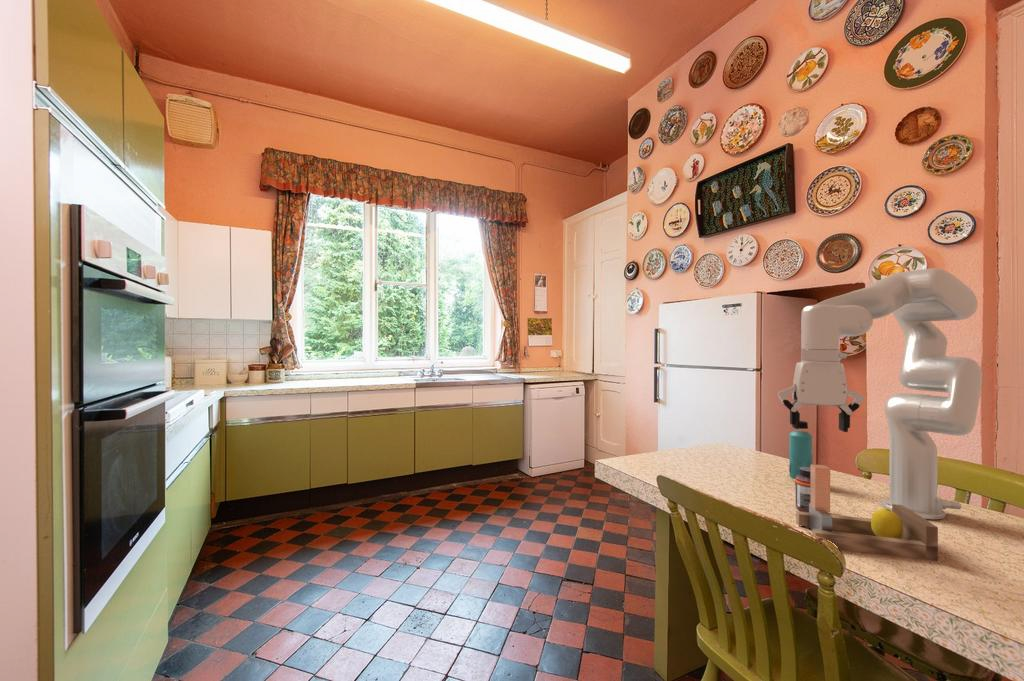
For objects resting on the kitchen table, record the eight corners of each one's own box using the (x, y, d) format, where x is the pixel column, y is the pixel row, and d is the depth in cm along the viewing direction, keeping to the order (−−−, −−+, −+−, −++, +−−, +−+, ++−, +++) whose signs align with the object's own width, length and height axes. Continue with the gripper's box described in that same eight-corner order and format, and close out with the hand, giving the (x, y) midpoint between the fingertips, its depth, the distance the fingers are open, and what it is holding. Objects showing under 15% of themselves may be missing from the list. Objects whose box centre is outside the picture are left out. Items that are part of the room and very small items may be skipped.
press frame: (902, 534, 103) (902, 504, 104) (937, 560, 91) (937, 527, 91) (796, 523, 110) (796, 495, 110) (815, 546, 97) (815, 515, 97)
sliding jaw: (820, 528, 106) (820, 462, 106) (834, 542, 98) (834, 471, 98) (806, 526, 107) (806, 461, 107) (819, 541, 99) (819, 470, 99)
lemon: (909, 549, 96) (909, 512, 96) (884, 548, 96) (884, 512, 96) (888, 537, 102) (888, 503, 102) (864, 537, 102) (864, 503, 102)
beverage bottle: (817, 486, 138) (817, 422, 138) (796, 486, 138) (796, 422, 138) (804, 479, 145) (804, 419, 145) (784, 479, 145) (784, 419, 145)
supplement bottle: (801, 504, 122) (801, 464, 122) (825, 511, 117) (826, 469, 117) (791, 509, 119) (791, 467, 119) (815, 516, 114) (816, 473, 114)
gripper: (856, 357, 104) (855, 429, 104) (774, 355, 110) (773, 424, 109) (871, 358, 97) (870, 435, 97) (783, 356, 102) (782, 429, 102)
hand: (819, 429), depth 103 cm, fingers open, 9 cm apart
